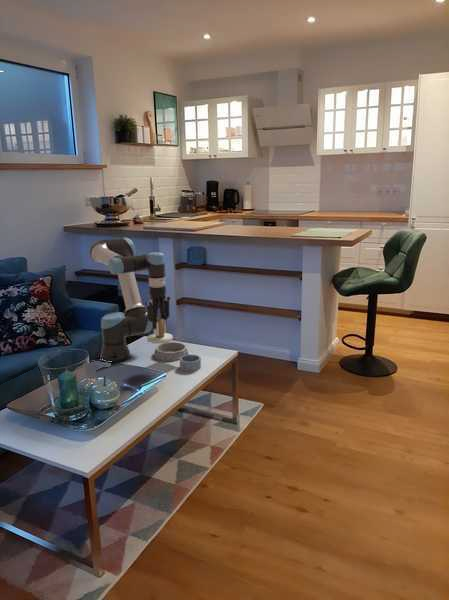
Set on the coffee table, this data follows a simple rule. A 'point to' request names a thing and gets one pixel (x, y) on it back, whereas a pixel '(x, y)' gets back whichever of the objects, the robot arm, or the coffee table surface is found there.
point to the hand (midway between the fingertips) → (159, 333)
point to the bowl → (190, 363)
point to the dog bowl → (177, 347)
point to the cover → (160, 334)
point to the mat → (162, 367)
